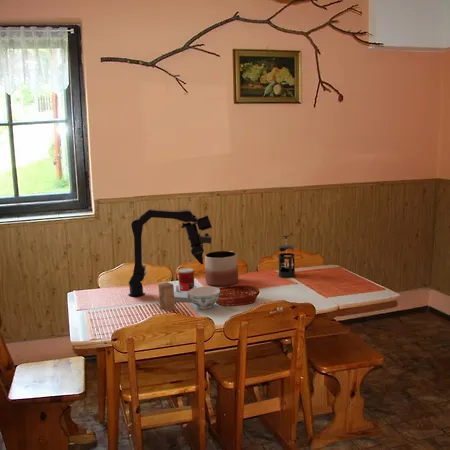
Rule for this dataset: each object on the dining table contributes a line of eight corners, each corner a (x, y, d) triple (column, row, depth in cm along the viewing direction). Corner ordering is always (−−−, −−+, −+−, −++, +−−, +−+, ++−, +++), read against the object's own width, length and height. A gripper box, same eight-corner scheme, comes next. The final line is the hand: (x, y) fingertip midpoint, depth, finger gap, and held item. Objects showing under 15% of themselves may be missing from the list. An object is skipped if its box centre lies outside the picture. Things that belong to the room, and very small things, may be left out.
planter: (214, 276, 314) (213, 249, 311) (243, 279, 306) (242, 251, 304) (200, 285, 298) (198, 257, 295) (230, 288, 291) (228, 259, 288)
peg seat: (168, 300, 274) (167, 290, 274) (176, 294, 284) (175, 285, 283) (190, 301, 271) (190, 292, 270) (198, 295, 280) (197, 286, 279)
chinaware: (224, 309, 257) (224, 293, 256) (193, 313, 253) (192, 297, 252) (216, 300, 272) (215, 285, 270) (186, 304, 268) (185, 288, 266)
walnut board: (160, 308, 263) (158, 283, 261) (168, 306, 266) (166, 281, 264) (166, 311, 259) (165, 286, 256) (174, 308, 261) (173, 284, 259)
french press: (299, 276, 306) (298, 236, 302) (283, 279, 303) (282, 237, 299) (289, 272, 317) (288, 232, 313) (274, 274, 314) (273, 234, 310)
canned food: (192, 292, 285) (191, 272, 284) (177, 292, 287) (176, 271, 285) (196, 288, 293) (195, 268, 291) (181, 288, 294) (180, 268, 293)
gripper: (208, 232, 273) (217, 261, 276) (207, 225, 291) (216, 253, 294) (186, 239, 273) (196, 268, 276) (187, 231, 291) (196, 259, 294)
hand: (202, 262), depth 285 cm, fingers open, 9 cm apart
